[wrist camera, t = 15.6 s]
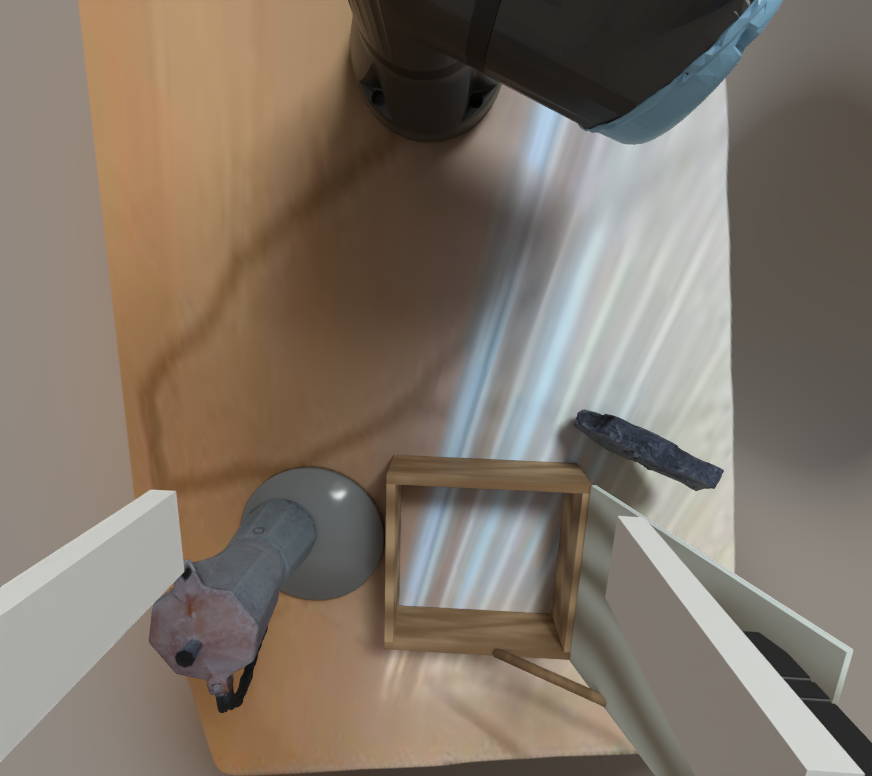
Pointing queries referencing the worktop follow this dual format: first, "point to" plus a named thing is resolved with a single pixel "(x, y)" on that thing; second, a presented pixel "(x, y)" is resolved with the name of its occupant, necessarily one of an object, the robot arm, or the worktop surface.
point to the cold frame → (585, 603)
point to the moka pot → (231, 600)
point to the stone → (648, 450)
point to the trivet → (329, 530)
